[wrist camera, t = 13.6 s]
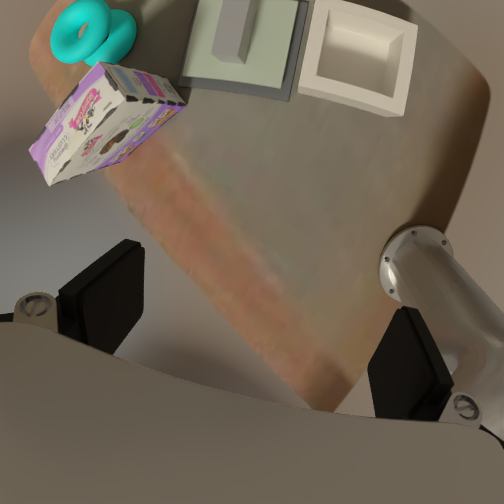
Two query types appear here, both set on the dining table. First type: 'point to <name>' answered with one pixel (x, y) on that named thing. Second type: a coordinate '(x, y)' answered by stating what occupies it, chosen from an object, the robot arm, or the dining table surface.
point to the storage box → (358, 57)
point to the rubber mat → (252, 88)
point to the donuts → (92, 33)
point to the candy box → (103, 121)
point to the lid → (241, 41)
